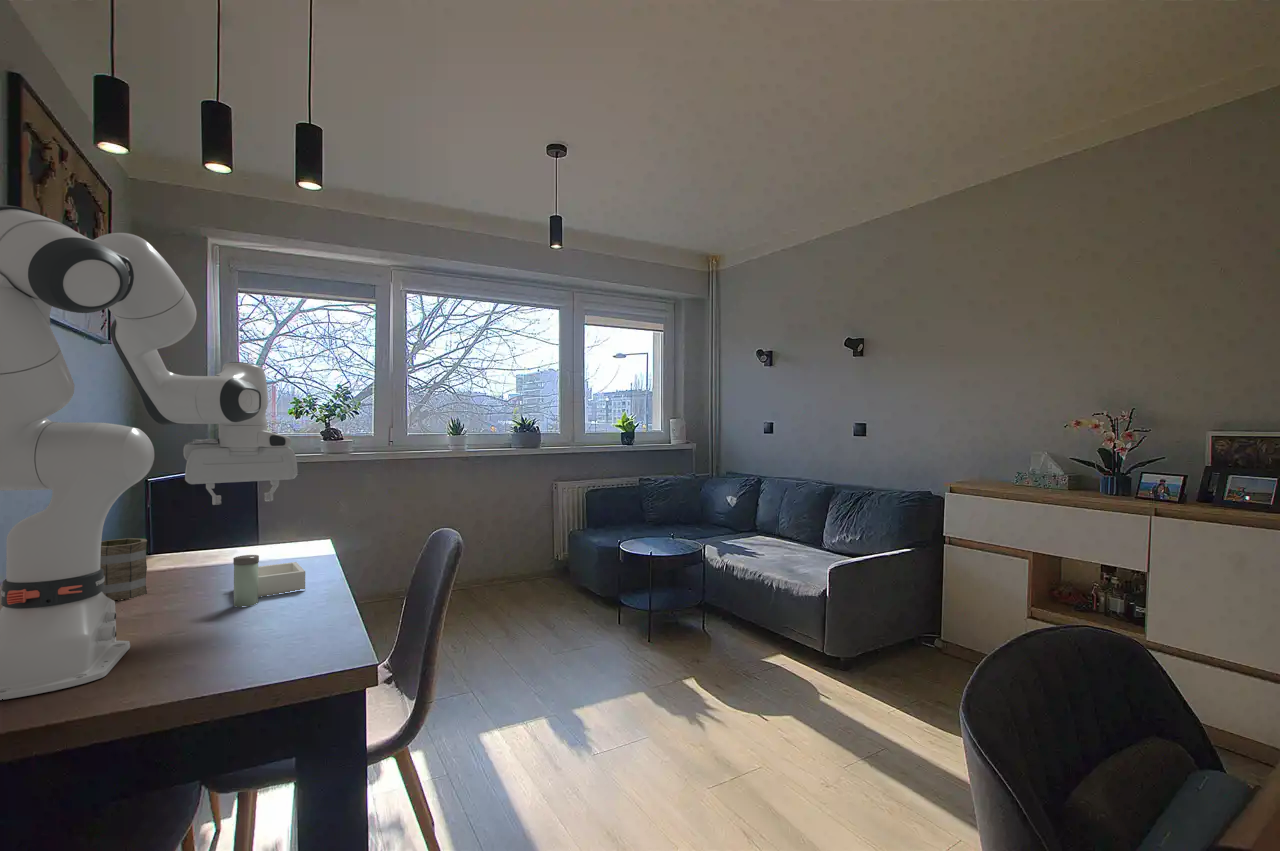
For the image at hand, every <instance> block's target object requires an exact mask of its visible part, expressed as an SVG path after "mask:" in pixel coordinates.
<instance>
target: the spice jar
mask: <svg viewBox="0 0 1280 851" xmlns="http://www.w3.org/2000/svg"><path fill="white" fill-rule="evenodd" d="M232 562H233V563H232V564H233V607H234V606H237V607H236V608H238V607H241V608H243V607H242V606H249V607H251V606H250V605H254V604H256V603H258V604H259V598H258V566H259V562H260V555H258V554H246V555H237V556H234V557H233V561H232ZM256 605H257V604H256ZM254 606H255V605H254Z"/></svg>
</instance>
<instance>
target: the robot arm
mask: <svg viewBox="0 0 1280 851" xmlns="http://www.w3.org/2000/svg"><path fill="white" fill-rule="evenodd" d="M52 307H53V308H56V309H58V310H62V311H65V312H70V313H76V314H77V313H78V314H91V313H96V312H101V311H103V310H106V309H108V310H109V311H110V313H111V314H112V316H113V317H114V320H113V321H112V324H111V326H110V338H111V341H112V344H113V347H114V348H115V350H116V353H117V354H118V357H119V359H120V360H121V362H122V364H123V365H124V367H125V369H126V371H127V372H128V375H129V376H130V378H131V380H132V382H133V383H134V385H135V388H136V389H137V391H138V393H139V396H140V399H141V404H142V407H143V409H144V411H145V412H146V414H147V415H148V416H149V417H150V418H151V419H152V420H153V421H155V422H156V423H157V424H159V425H163V426H174V425H177V426H178V425H187V424H188V425H189V424H190V425H192V424H193V425H194V424H195V425H197V424H199V425H205V424H206V425H214V424H215V425H217V424H218V438H206V439H205V438H204V439H201V438H199V439H198V438H193V439H192V440H191V441H188V442H186V443H185V444H184V446H182V447H183V449H182V452H183V453H182V455H183V458H184V459H185V461H186V464H185V472H184V481H185V482H186V483H187V484H189V485H203V484H205V489H206V491H207V492H208V493H209V494H210V495H211V498H212V499H211V500H212V502H211V503H212V505H213V506H215V505H216V506H217V505H222V495H220V494H219V495H217V494H216V493H215V492H214V490H213V489H215V487H216V484H221V483H225V484H226V483H244V482H263V481H264V482H265V481H270V482H269V483H270V485H271V488H270V489H269V491H267V492H264V493H263V496H264V502H273V501H274V493H275V492H276V490H277V489H278V487H279V486H280V481H283V480H286V481H287V480H288V481H289V480H295V478H296V477H297V476H298V461H297V457H296V456H297V455H296V454H295V451H294V449H292V448H291V447H290V446H291V445H292V439H291V437H289V436H287V435H283V434H279V433H278V432H273V431H272V432H271V431H269V430H268V428H269V427H268V426H269V425H268V419H267V416H266V415H267V414H266V412H267V409H268V404H269V403H268V402H269V400H268V397H269V396H268V385H267V377H266V374H265V370H264V368H262V366H259V365H257V364H254V363H248V362H242V361H228V362H226V363H224V364H222V367H221V368H222V369H221V372H219V373H217V374H214V375H205V376H204V375H183V374H178V373H174V372H172V371H169V370H168V369H167V367H166V365H165V363H164V361H163V359H162V357H161V355H160V353H159V350H160V349H163V348H168V347H170V346H172V345H174V344H176V343H178V342H180V341H181V340H182V339H184V338H185V337H186V336H188V334H189V333H190V332H191V331H192V330H193V328H194V327H195V326H194V325H195V324H196V321H197V308H196V304H195V303H194V300H193V298H192V297H191V295H190V293H189V292H188V290H187V289H186V287H185V285H184V284H183V282H182V281H181V279H180V277H179V276H178V275H177V274H176V273H175V270H174V269H173V268H172V267H171V265H170V264H169V263H168V262H167V261H166V259H165V258H164V257H163V256H162V254H160V253H159V252H158V251H157V250H156V249H155V247H154V246H153V245H152V244H150V242H148V241H147V240H146V239H144V238H142V237H140V236H138V235H137V234H136V235H135V234H133V233H128V232H111V233H107V234H102V235H100V236H98V237H97V238H96V237H95V238H94V239H91V238H88V237H87V236H85V235H83V234H81V233H79V232H78V231H76V230H74V229H73V228H71V227H70V226H68V225H66V224H63V223H62V222H60V221H57V220H54V219H52V218H49V217H47V216H44V215H41V214H40V213H38V212H36V211H33V210H31V209H28V208H25V207H20V206H15V205H7V204H0V491H1V492H2V491H3V492H4V491H40V490H42V491H45V490H46V491H48V490H50V491H51V490H52V491H51V492H52V494H51V498H50V502H49V503H48V505H47V506H46V508H44V510H41V511H38V512H36V513H33V514H32V515H30V516H27V517H25V518H23V519H22V520H20V521H18V522H17V523H16V524H15V525H13V526H12V528H11V529H10V530H9V531H8V533H7V536H6V557H5V558H6V560H5V561H6V562H5V563H6V568H5V571H6V578H5V579H4V580H3V581H2V586H1V589H0V596H1V599H0V605H1V606H2V607H1V608H0V701H3V700H4V701H5V700H9V699H10V700H11V699H17V698H22V697H27V696H34V695H38V694H39V695H40V694H43V693H48V692H55V691H59V690H62V689H67V688H72V687H75V686H76V687H77V686H80V685H83V684H87V683H90V682H93V681H97V680H99V679H102V678H104V677H105V676H107V675H108V674H109V673H110V671H111V670H112V669H113V668H114V667H115V666H116V665H117V664H118V663H119V661H120V660H121V659H122V657H123V656H125V655H126V653H127V652H128V651H129V650H130V649H131V642H130V641H129V640H117V623H116V621H117V620H116V619H117V612H116V601H114V600H112V599H110V598H108V597H107V596H105V595H104V594H103V592H102V591H103V589H104V581H105V577H104V570H103V569H102V568H100V558H101V541H103V540H102V537H103V530H104V524H105V522H106V518H107V517H108V516H107V515H108V514H109V512H110V510H111V508H112V506H113V505H114V504H115V503H116V501H117V500H118V499H119V497H121V496H122V495H123V493H125V492H126V491H127V490H128V489H129V488H131V487H132V486H134V485H136V484H137V483H139V482H141V480H143V479H144V478H145V477H146V476H147V475H148V474H149V472H150V471H151V469H152V467H153V466H154V465H153V464H154V461H155V448H154V445H153V442H152V441H151V439H150V438H149V437H148V434H146V433H145V432H144V431H143V430H141V428H137V427H133V426H128V425H123V424H116V423H108V422H68V421H67V422H63V421H62V422H58V421H51V420H50V419H49V418H47V417H51V415H53V414H55V413H57V412H59V411H60V410H62V409H63V408H64V407H66V406H67V405H68V404H69V403H70V402H71V400H72V398H73V396H74V393H75V382H74V379H73V377H72V375H71V372H70V370H69V367H68V364H67V361H66V360H65V357H64V355H63V353H62V350H61V348H60V345H59V342H58V340H57V338H56V335H55V334H54V332H53V329H52V328H51V310H52ZM158 349H159V350H158ZM2 699H3V700H2Z"/></svg>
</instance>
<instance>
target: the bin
mask: <svg viewBox="0 0 1280 851" xmlns="http://www.w3.org/2000/svg"><path fill="white" fill-rule="evenodd" d="M300 589H305V590H306V570H305V569H304V568H303V567H302V566H301V565H300V564H299V563H298V562H297V561H292V562H285V563H284V562H283V563H277V564H267V565H258V597H261V596H267V595H273V594H279V593H285V592H290V591H295V590H300ZM261 598H262V597H261Z"/></svg>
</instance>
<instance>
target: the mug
mask: <svg viewBox="0 0 1280 851" xmlns="http://www.w3.org/2000/svg"><path fill="white" fill-rule="evenodd" d="M147 546H148V540H147V538H133V537H130V538H118V539H108V540H107V539H106V540H102V541H101V558H100V568H102V569H103V570H104V577H105V581H104V589H103V591H102V592H103V594H104V595H105V596H107V597H108V598H110V599H112V600H114V601H115V600H121V599H128V600H130V599H129V598H133V599H135V598H134V597H136V598H138V597H137V596H139V597H142V596H144V594H145V595H147V594H148V592H147V572H148V570H147V569H148V566H147V563H148V562H147ZM141 595H142V596H141ZM121 601H122V600H121ZM115 602H116V601H115Z"/></svg>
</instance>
